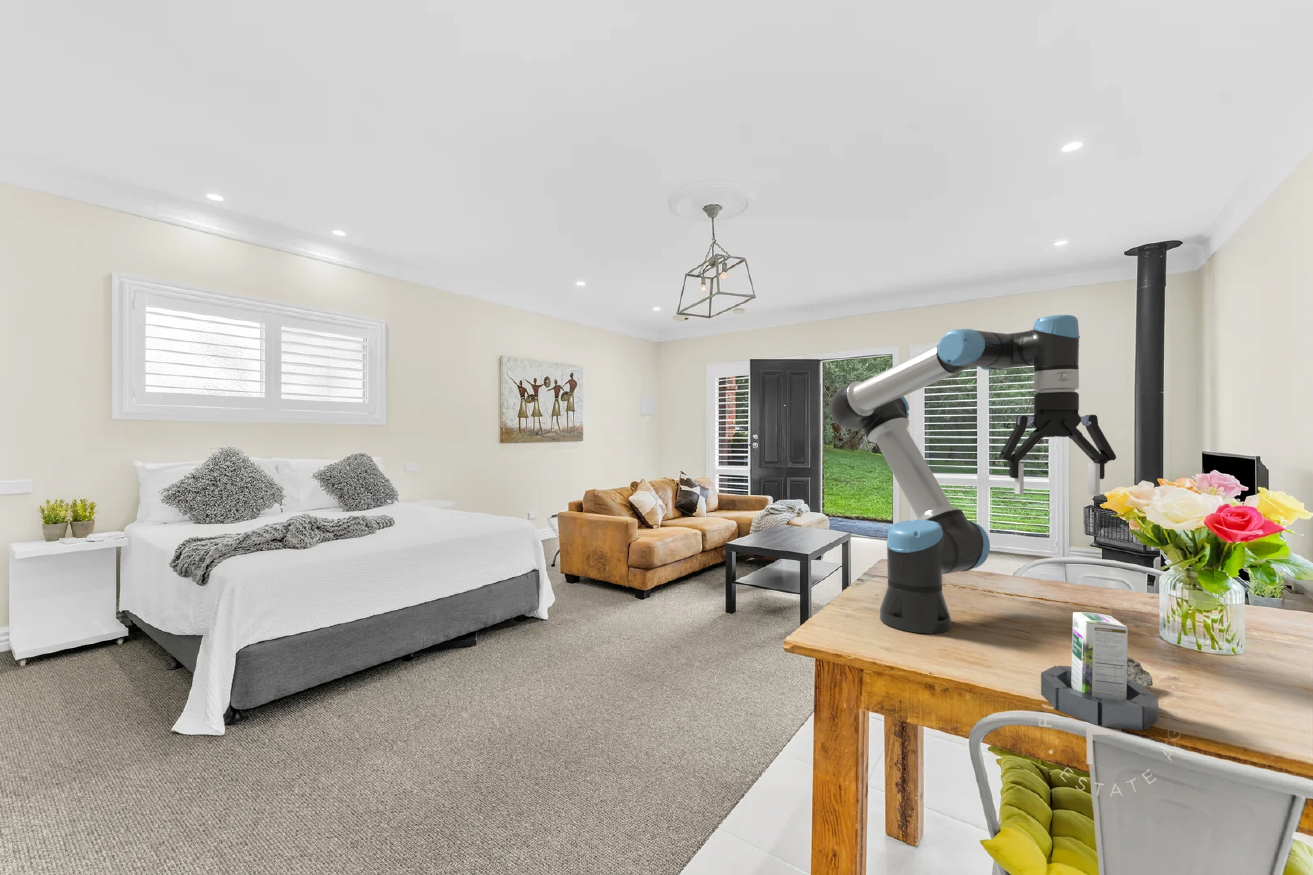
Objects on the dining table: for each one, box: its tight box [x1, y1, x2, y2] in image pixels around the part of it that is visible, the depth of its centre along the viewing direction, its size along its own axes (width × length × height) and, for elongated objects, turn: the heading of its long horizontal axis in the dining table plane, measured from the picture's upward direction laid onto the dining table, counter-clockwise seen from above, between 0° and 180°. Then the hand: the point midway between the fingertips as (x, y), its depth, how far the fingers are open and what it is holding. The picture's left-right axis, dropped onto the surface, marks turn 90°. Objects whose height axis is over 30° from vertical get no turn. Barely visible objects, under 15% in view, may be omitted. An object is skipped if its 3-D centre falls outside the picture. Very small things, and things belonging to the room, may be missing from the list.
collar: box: [1040, 665, 1159, 731], centre depth 90 cm, size 14×14×4 cm
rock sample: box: [1127, 656, 1154, 689], centre depth 97 cm, size 10×8×9 cm
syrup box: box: [1071, 611, 1129, 700], centre depth 90 cm, size 6×6×14 cm
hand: (1055, 494), depth 114 cm, fingers open, 13 cm apart
